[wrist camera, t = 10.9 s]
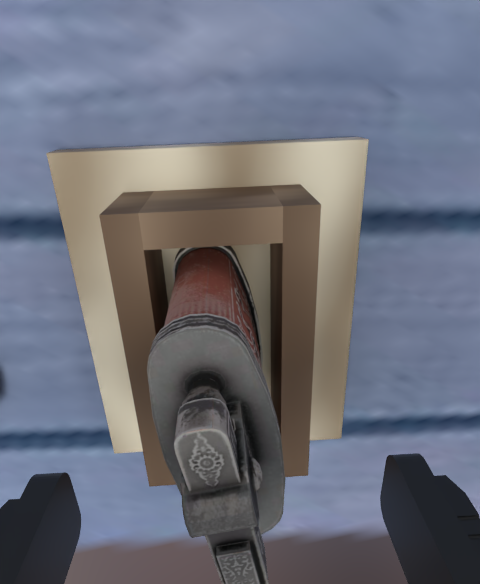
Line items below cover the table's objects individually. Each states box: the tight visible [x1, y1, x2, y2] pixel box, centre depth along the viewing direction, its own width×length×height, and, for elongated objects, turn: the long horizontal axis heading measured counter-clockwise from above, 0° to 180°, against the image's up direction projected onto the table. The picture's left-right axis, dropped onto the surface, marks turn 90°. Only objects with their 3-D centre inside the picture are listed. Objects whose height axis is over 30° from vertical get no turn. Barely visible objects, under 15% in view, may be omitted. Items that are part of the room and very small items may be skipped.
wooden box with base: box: [47, 137, 369, 486], centre depth 17 cm, size 12×15×5 cm
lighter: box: [147, 246, 285, 584], centre depth 14 cm, size 8×3×10 cm, turn 11°
